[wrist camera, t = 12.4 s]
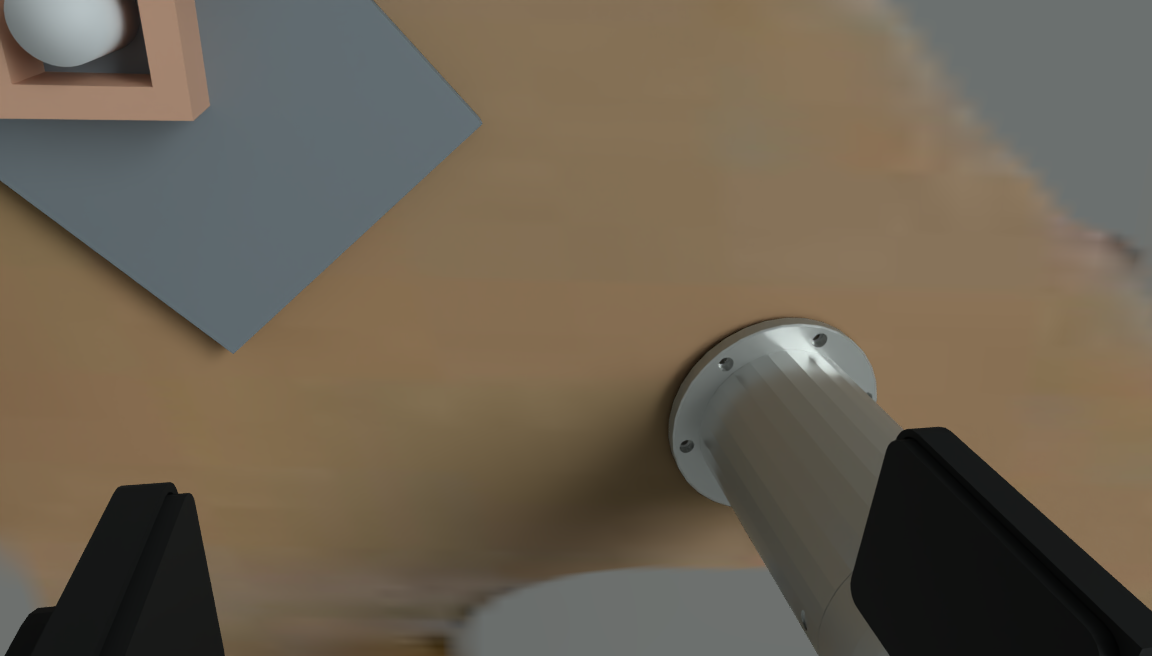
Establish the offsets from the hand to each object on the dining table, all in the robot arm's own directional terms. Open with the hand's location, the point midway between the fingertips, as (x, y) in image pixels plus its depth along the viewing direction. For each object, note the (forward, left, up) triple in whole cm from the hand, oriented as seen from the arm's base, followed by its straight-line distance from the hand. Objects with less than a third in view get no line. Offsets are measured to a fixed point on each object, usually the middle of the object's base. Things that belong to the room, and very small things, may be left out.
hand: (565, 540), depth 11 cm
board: (+8, +7, -28) cm, 30 cm away
